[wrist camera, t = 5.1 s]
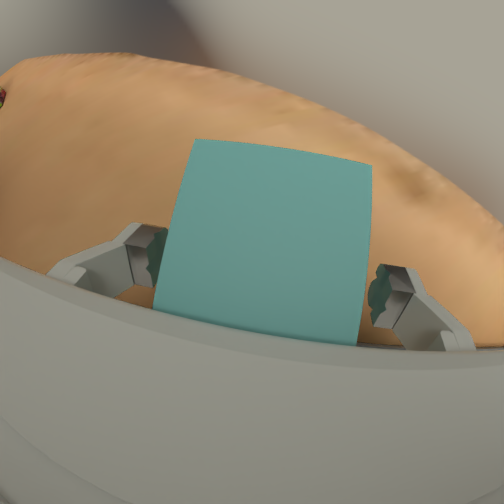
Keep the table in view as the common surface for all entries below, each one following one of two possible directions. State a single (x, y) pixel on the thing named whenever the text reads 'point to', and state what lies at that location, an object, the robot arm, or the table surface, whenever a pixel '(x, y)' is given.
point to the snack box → (2, 96)
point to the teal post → (269, 242)
